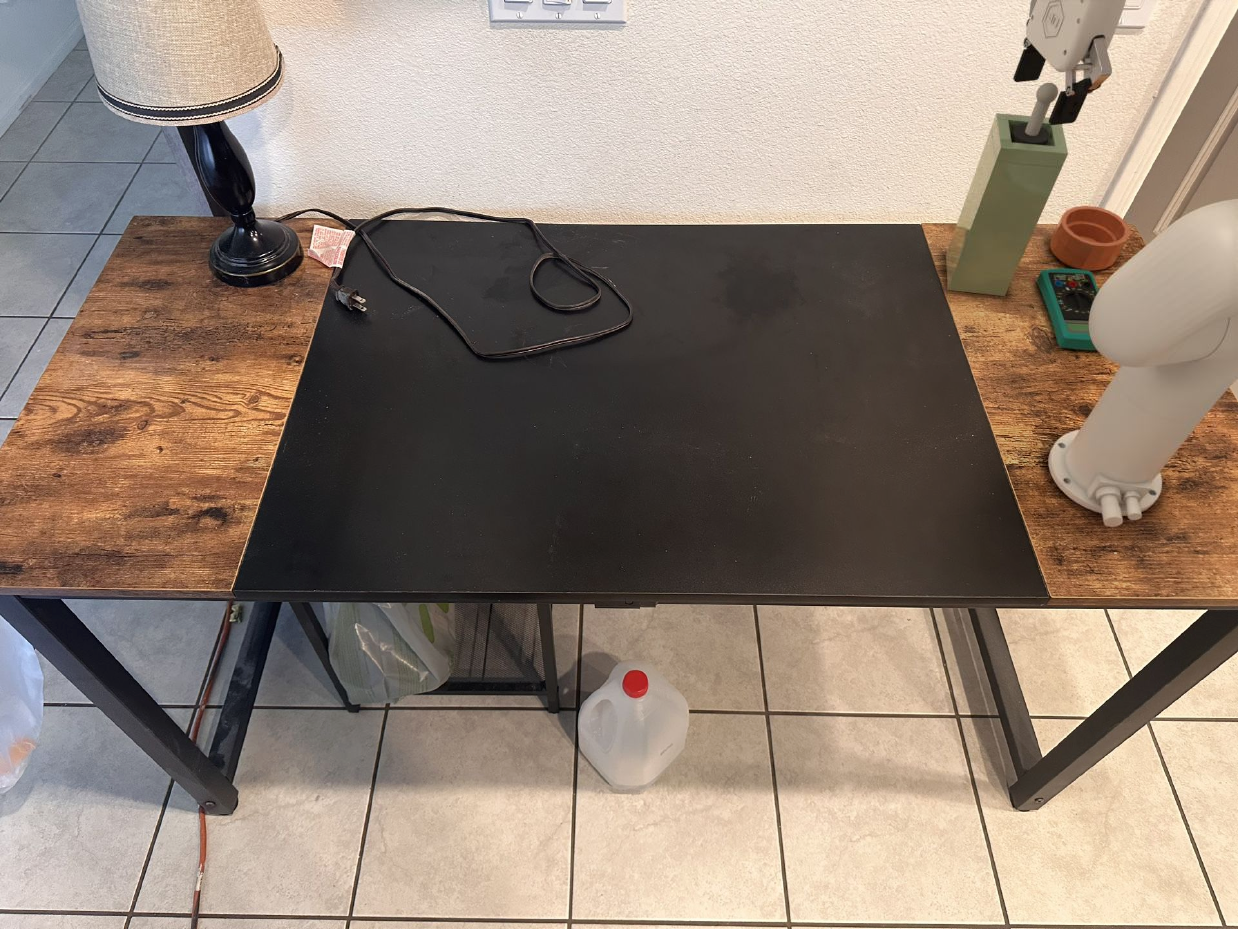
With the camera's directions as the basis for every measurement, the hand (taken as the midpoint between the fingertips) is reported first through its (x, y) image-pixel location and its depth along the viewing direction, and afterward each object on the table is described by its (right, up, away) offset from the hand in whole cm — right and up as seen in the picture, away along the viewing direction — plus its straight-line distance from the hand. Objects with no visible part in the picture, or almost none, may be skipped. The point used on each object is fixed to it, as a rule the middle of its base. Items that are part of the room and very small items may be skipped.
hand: (1042, 100), depth 105 cm
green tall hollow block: (0, -17, +21) cm, 27 cm away
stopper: (0, -4, +5) cm, 6 cm away
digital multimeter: (+12, -24, +16) cm, 31 cm away
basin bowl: (+18, -13, +24) cm, 32 cm away
